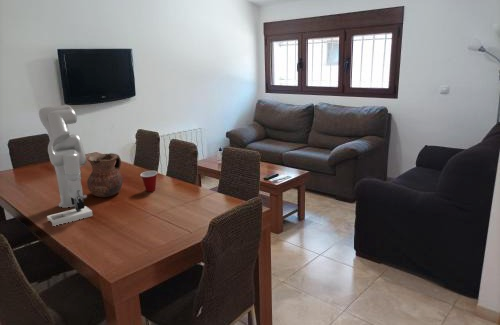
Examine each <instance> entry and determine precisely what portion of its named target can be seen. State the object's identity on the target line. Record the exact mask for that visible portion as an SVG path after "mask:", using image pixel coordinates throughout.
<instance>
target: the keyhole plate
mask: <svg viewBox="0 0 500 325" xmlns="http://www.w3.org/2000/svg"><path fill="white" fill-rule="evenodd" d="M93 215H94V214H93V210H92V209H91V208H89V207H88V206H86V205H84V208H83V209H81V211H80V212H77V210H75V208H72V209H70V210H65V211H62V212H58V213H54V214H50V215H47V216H46V219H47V222H48V221H50V222H51V225H52V227H53V226H55V227H57V226H56V225H58V226H60V225H59V224H62V225H64V224H63V223H66V224H69V223H72V221H73V222H75V221H80V220H83V218H84V219H87V218H90V217H93ZM54 219H55V220H54ZM79 219H80V220H79ZM68 222H69V223H68Z"/></svg>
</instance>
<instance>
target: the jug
mask: <svg viewBox="0 0 500 325" xmlns="http://www.w3.org/2000/svg"><path fill="white" fill-rule="evenodd" d="M87 161H88V163H89V164H90V165H91V168H92V172H91V173H90V174H89V176H88V177H87V180H86V182H87V183H86V186H87V189H88V191H89V192H90V193H91V194H92V195H93V196H95V197H99V198H108V197H109V198H110V197H112V196H115V195H117V194H118V193H119V192H120V191H121V189H122V186H123V179H124V178H123V176H122V174H121V173H120V168H121V166H122V165H121V164H122V161H121V157H120V156H119V154H116V153H112V152H111V153H102V154H92V155H89V156H87Z"/></svg>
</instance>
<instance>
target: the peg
mask: <svg viewBox="0 0 500 325" xmlns="http://www.w3.org/2000/svg"><path fill="white" fill-rule="evenodd" d="M77 197H78V196H77ZM78 200H79V198H78ZM74 204H75V206H74V209H75V210H77V212H80V211H81V209H78V206H77V199H76V198H75V199H74Z"/></svg>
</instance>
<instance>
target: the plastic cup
mask: <svg viewBox="0 0 500 325" xmlns="http://www.w3.org/2000/svg"><path fill="white" fill-rule="evenodd" d="M157 176H158V171H157V170H147V171H144V172H141V173H140V177H141V178H142V181H143V186H144V188H145V191H146V192H148V193H150V192H151V193H152V192H155V191H156V187H157V186H156V185H157Z"/></svg>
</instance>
